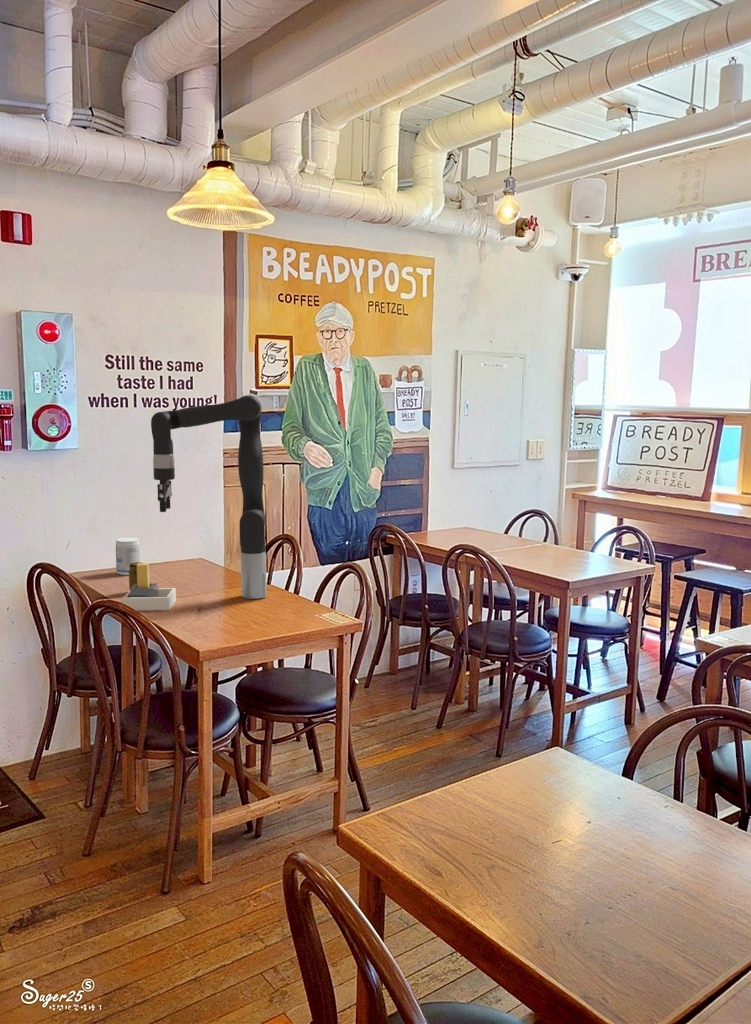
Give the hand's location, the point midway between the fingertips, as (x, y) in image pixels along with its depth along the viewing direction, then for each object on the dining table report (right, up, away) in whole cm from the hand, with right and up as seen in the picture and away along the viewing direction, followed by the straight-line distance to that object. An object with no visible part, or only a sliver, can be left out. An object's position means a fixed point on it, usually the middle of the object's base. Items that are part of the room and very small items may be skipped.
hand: (165, 510), depth 300 cm
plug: (-5, -31, -9) cm, 33 cm away
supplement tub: (-27, -27, +45) cm, 59 cm away
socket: (-5, -34, -8) cm, 36 cm away
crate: (-3, -35, -8) cm, 36 cm away
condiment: (-13, -32, +9) cm, 36 cm away
